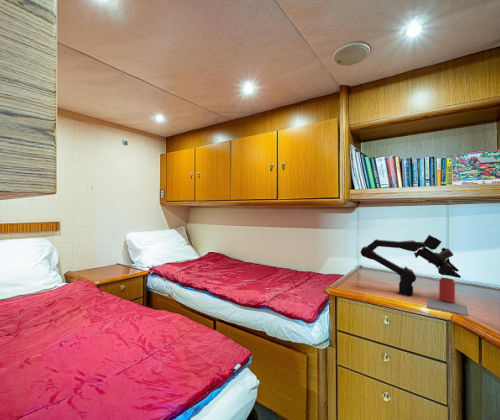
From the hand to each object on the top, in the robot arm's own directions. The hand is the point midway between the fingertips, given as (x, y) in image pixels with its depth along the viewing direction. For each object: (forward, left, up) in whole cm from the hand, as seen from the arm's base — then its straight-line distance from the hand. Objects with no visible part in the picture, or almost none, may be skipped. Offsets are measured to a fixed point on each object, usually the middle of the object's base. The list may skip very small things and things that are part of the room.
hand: (459, 274), depth 136 cm
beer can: (-5, -5, -15) cm, 16 cm away
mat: (-5, -14, -15) cm, 21 cm away
